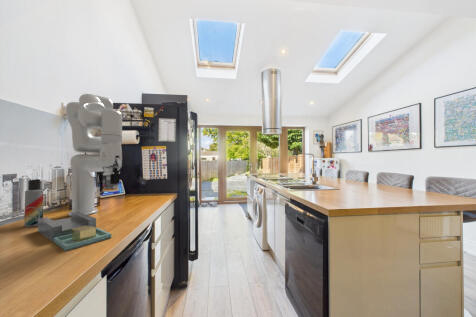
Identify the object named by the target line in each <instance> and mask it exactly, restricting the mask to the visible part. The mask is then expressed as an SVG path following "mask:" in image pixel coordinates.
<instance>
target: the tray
mask: <svg viewBox="0 0 476 317" xmlns="http://www.w3.org/2000/svg"><path fill="white" fill-rule="evenodd" d="M108 239H112V233H111V232H108V231H106V230H104V229H101V228H99V227H96V237H95V238H91V239H87V240H84V241H80V242H76V241H74V240H73V239H72V234H68V235H64V236H60V237H55V238H54V239H53V243H54V244H55V245H56V246H58V247H59V248H61V249H62V250H63V251H64V252H67V251H71V250H76V249H77V248H81V247H85V246H88V245H92V244H95V243H99V242H103V241H105V240H108Z"/></svg>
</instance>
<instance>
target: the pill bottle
mask: <svg viewBox="0 0 476 317" xmlns="http://www.w3.org/2000/svg"><path fill="white" fill-rule="evenodd" d="M114 169H115V168H114ZM104 170H105V173H104V174H103V173H102V192H103V193H115V192H118V191H119V189H120V188H119V187H120V185H119V184H120V182H119V183H118V184H110V174H112V173H111V167H109V168H105V169H104Z"/></svg>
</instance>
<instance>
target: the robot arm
mask: <svg viewBox="0 0 476 317" xmlns="http://www.w3.org/2000/svg"><path fill="white" fill-rule="evenodd" d="M65 116H66V119H67V121H68V124H69V125H70V128H71V136H72V139H71V140H72V147H73V151H74V152H76V153H80V154H75V155H73V156H72V157H71V158H70V163H69V164H70V168H71V178H72V183H71V184H72V188H71V191H72V192H71V195H72V196H71V211H69V212H68V213H67V216H69V217H71V213H73V212H80V213H83V214H86V215H88V216H90V215H93V214H96V213H98V212H99V209H98V208H95V201H96V200H95V196H96V195H95V194H96V192H95V191H96V190H95V187H96V184H95V183H96V182H95V181H96V180H95V178H94V176H93V175H91V173H93V172H96V173H98V172H99V173H100V172H102V175H103V174H104V173H105V170H104V169H105V168H109V167H111V173H112V174H110V184H118V183H119V184H120V174H121V169H122V167H123V164H122V163H123V150H122V149H123V148H122V145H123V114H122V112H120V111H118V110H115V109H114V103H113V101H112V99H111V98H108V97H105V96H101V95H97V94H93V93H83V94H82V95H80V96H79V98H78V101H71V102H68V103H67V104H66V106H65ZM93 129H94V130H100V136H94V135H92V130H93ZM85 153H86V154H85ZM114 168H115V169H114Z"/></svg>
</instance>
